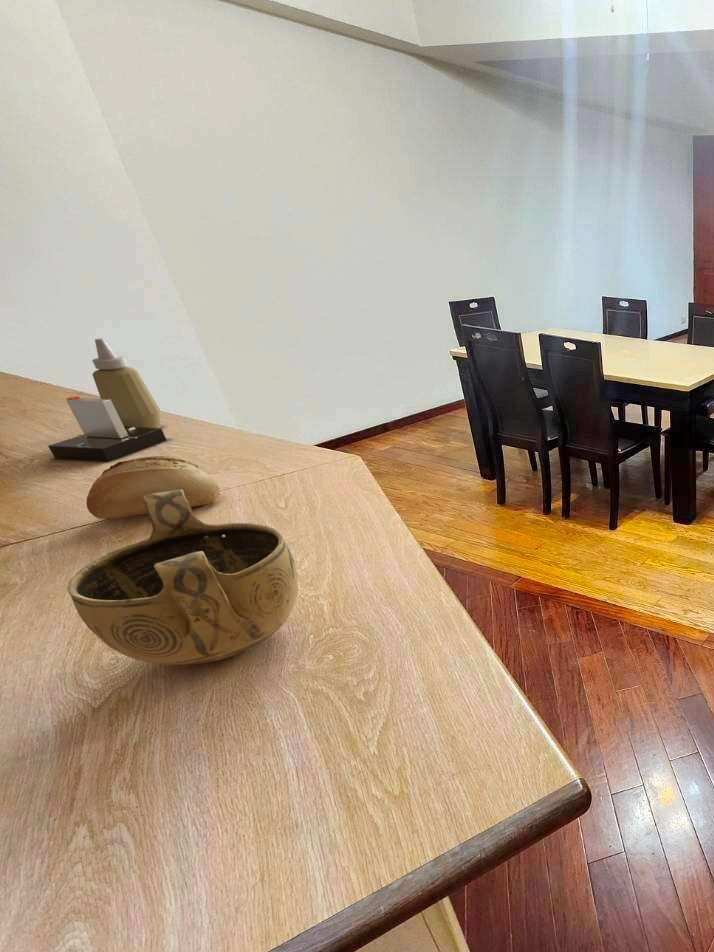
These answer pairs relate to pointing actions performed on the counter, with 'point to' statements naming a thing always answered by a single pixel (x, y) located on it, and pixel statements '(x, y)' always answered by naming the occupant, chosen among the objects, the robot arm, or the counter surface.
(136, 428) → the panel
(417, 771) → the counter surface
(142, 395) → the squeeze bottle
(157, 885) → the counter surface
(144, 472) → the bread roll
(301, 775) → the counter surface
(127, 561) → the ceramic bowl
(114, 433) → the red-tipped white tile
